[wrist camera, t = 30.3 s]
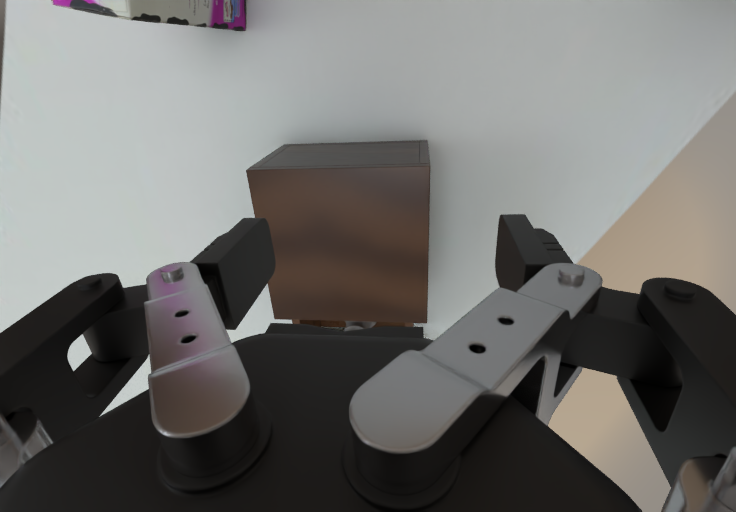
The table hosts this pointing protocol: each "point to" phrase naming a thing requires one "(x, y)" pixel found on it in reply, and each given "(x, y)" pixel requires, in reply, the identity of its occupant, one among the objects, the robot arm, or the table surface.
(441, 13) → the table surface
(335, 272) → the cabinet
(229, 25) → the candy bar box
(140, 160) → the table surface
